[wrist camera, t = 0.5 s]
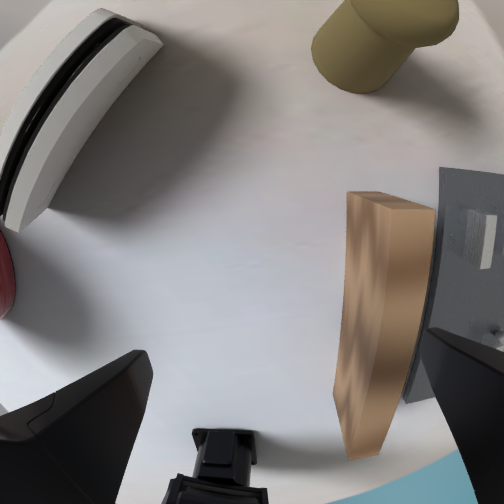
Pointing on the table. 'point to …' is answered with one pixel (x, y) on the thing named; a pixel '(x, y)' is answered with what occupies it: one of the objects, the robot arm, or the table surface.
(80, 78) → the white curved block
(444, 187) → the plate
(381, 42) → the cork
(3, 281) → the canister
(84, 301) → the table surface
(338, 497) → the table surface
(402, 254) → the cabinet door
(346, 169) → the table surface
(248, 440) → the robot arm
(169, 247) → the table surface
